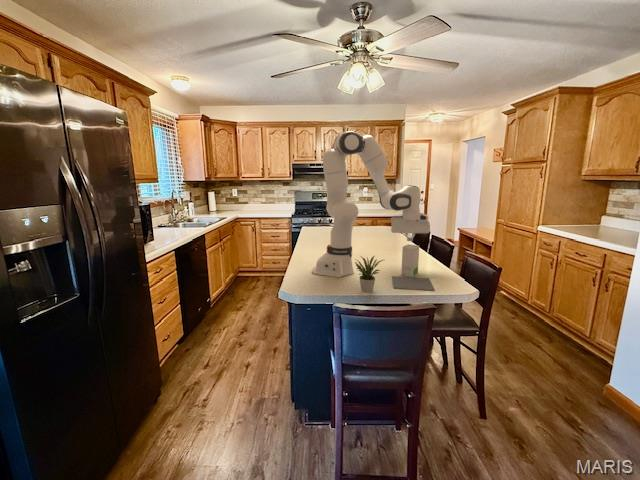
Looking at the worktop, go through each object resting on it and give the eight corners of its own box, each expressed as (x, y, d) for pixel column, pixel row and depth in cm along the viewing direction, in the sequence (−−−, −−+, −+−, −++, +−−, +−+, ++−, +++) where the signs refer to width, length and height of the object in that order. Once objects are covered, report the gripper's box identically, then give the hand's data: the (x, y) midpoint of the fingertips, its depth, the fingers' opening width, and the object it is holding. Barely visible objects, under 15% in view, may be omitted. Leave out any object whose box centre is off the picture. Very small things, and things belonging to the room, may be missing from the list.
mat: (393, 288, 138) (393, 287, 138) (392, 277, 154) (392, 275, 154) (434, 291, 135) (434, 289, 135) (428, 279, 150) (429, 278, 150)
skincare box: (412, 278, 152) (414, 248, 149) (400, 275, 156) (401, 246, 152) (418, 274, 158) (420, 245, 155) (406, 271, 162) (407, 243, 159)
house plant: (381, 284, 143) (382, 251, 140) (388, 295, 130) (390, 259, 126) (351, 284, 143) (352, 251, 139) (355, 296, 129) (357, 259, 126)
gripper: (391, 216, 160) (390, 241, 163) (431, 216, 156) (430, 242, 159) (390, 214, 166) (389, 239, 169) (429, 215, 162) (428, 240, 165)
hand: (409, 240), depth 164 cm, fingers closed
